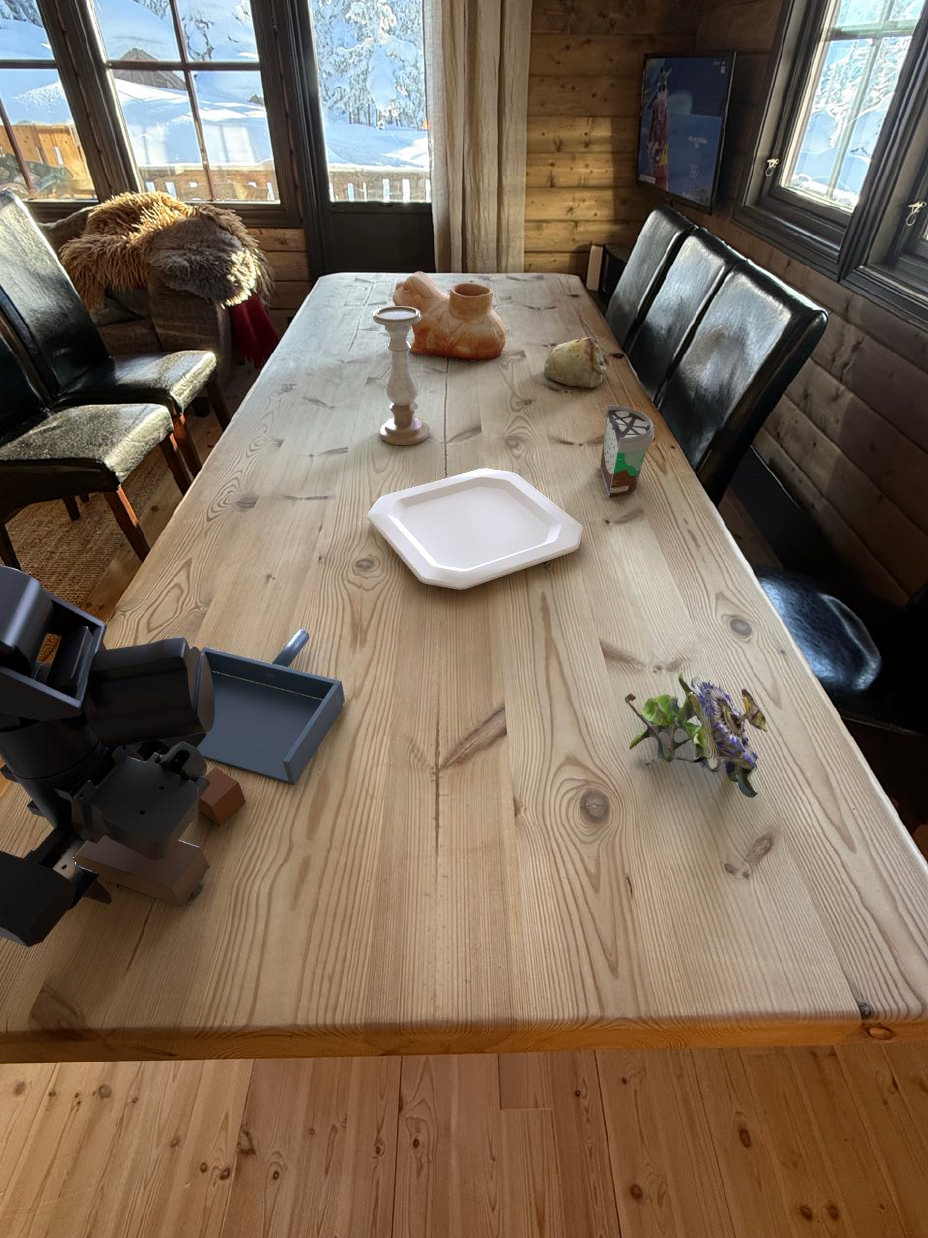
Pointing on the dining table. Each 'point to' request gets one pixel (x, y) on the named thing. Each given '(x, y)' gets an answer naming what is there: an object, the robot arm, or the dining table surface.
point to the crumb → (220, 797)
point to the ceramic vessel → (452, 319)
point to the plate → (473, 528)
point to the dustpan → (269, 712)
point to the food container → (624, 448)
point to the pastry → (576, 363)
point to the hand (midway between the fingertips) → (133, 864)
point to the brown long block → (148, 869)
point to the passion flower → (704, 729)
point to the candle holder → (401, 378)
